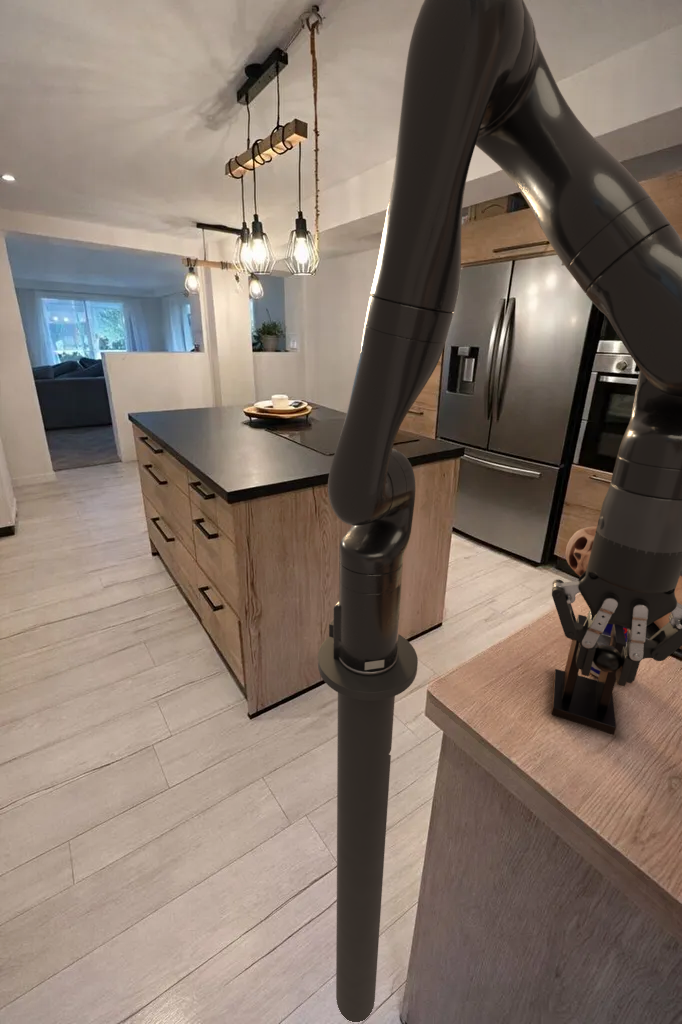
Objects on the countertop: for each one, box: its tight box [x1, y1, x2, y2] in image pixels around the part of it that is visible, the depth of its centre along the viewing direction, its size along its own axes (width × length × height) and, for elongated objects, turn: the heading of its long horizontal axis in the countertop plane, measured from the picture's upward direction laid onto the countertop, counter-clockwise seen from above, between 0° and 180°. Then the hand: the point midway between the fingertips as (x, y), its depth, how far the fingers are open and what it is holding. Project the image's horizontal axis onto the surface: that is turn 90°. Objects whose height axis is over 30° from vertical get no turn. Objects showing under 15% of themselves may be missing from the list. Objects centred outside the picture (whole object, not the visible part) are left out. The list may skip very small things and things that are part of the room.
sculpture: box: [565, 525, 682, 651], centre depth 80 cm, size 10×14×30 cm
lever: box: [593, 631, 622, 672], centre depth 51 cm, size 11×3×3 cm, turn 154°
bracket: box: [551, 614, 627, 736], centre depth 56 cm, size 8×7×12 cm
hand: (601, 675), depth 48 cm, fingers closed on lever, 3 cm apart
